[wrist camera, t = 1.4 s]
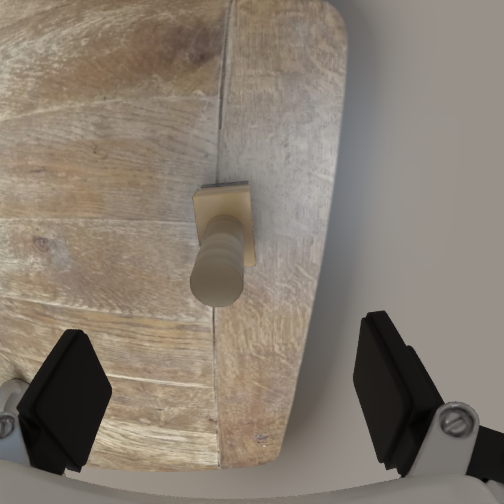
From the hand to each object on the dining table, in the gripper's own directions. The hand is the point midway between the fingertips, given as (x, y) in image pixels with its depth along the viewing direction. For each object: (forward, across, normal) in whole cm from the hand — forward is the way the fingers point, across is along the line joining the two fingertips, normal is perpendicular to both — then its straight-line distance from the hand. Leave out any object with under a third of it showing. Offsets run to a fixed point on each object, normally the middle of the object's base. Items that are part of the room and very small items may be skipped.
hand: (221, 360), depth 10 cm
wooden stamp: (+15, 0, 0) cm, 15 cm away
